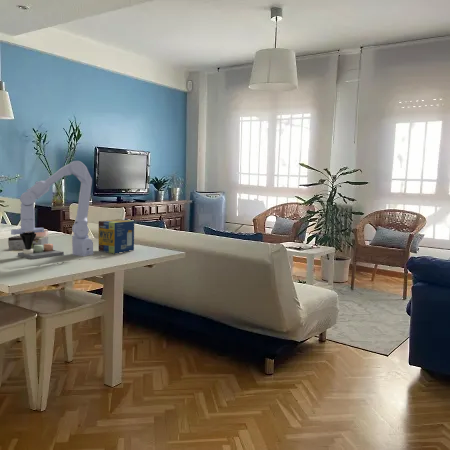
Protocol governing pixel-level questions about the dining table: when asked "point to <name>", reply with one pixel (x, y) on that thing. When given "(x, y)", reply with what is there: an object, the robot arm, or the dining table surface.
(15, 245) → the coffee box
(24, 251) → the cream button
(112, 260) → the dining table surface
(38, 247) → the sage button
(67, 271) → the dining table surface
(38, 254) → the console
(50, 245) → the terracotta button
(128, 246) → the protein box
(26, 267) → the dining table surface
